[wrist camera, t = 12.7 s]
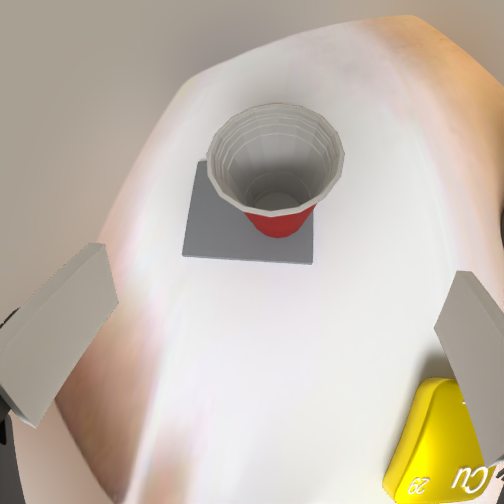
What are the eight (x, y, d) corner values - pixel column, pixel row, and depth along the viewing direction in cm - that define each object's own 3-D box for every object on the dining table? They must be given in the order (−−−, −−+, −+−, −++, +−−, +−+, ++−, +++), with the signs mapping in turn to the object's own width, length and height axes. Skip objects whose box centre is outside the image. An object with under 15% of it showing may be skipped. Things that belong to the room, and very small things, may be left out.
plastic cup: (216, 189, 35) (191, 121, 24) (303, 163, 36) (310, 90, 24) (243, 276, 32) (224, 233, 20) (339, 243, 32) (369, 188, 21)
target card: (312, 169, 36) (312, 166, 36) (311, 264, 32) (312, 263, 32) (199, 164, 37) (198, 161, 36) (183, 256, 33) (181, 254, 33)
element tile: (502, 387, 26) (524, 388, 22) (465, 489, 22) (484, 500, 18) (419, 374, 28) (440, 376, 24) (375, 491, 24) (389, 508, 20)
